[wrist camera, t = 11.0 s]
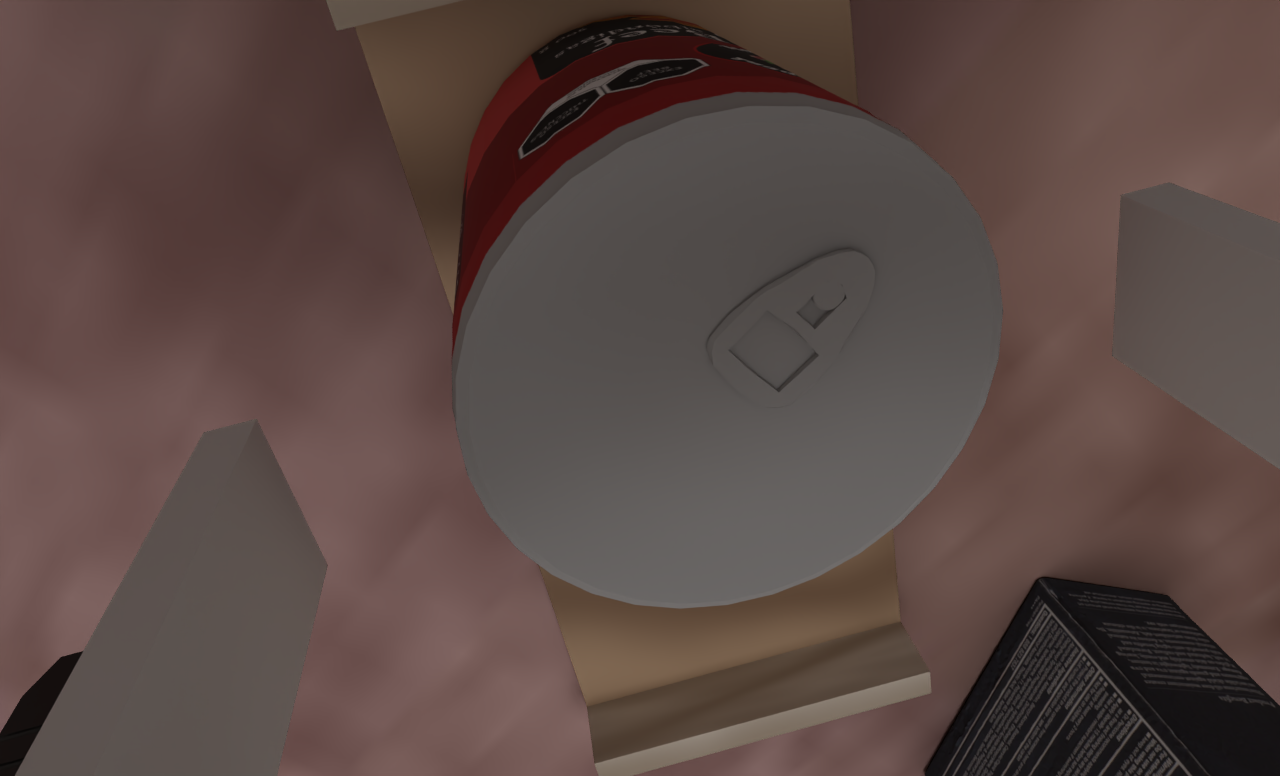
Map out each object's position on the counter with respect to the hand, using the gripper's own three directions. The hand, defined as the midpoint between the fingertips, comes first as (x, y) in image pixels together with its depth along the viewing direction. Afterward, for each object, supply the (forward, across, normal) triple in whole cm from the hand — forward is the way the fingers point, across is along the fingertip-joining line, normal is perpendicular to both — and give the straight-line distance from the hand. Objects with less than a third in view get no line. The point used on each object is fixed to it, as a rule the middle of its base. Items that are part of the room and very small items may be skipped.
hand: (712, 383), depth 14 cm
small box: (+12, +12, -24) cm, 29 cm away
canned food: (+10, 0, +1) cm, 10 cm away
